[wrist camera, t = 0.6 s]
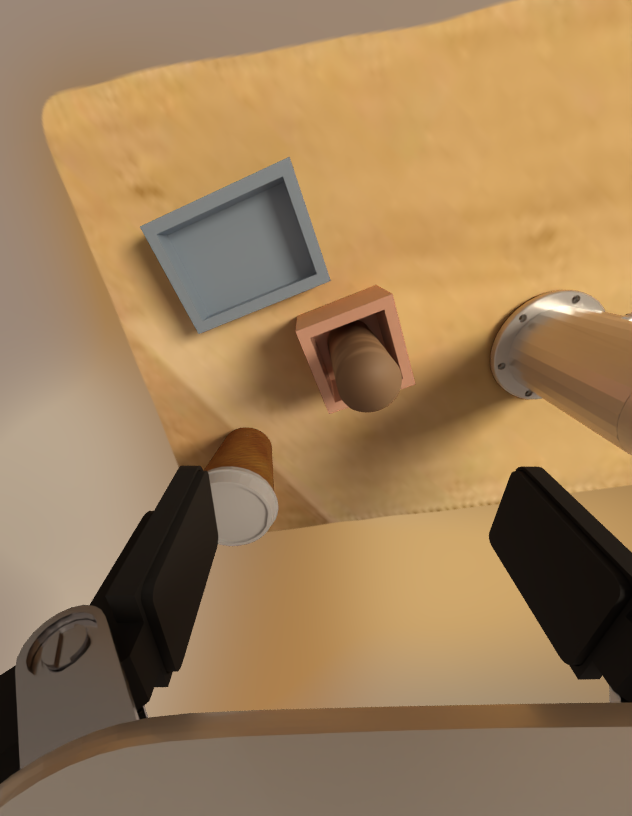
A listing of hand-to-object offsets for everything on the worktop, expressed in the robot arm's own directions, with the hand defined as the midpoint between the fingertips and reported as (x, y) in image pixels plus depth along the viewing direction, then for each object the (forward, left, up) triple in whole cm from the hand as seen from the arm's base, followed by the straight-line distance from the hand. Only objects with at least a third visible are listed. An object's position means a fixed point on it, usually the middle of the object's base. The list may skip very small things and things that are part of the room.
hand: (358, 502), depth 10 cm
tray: (+5, -9, -28) cm, 30 cm away
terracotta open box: (-2, +3, -28) cm, 29 cm away
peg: (-2, +3, -27) cm, 28 cm away
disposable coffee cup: (+15, +12, -29) cm, 34 cm away
